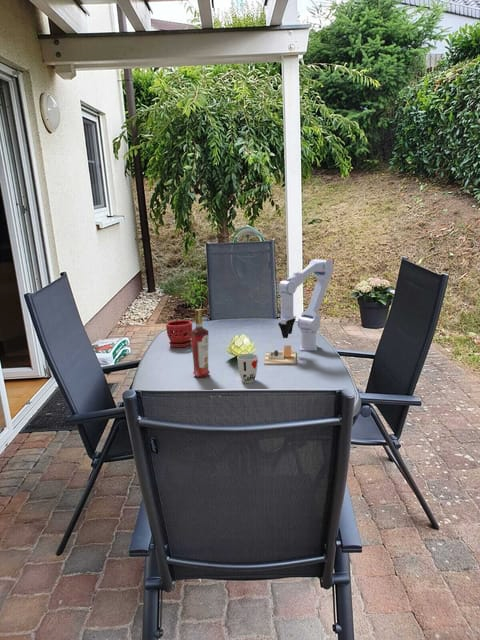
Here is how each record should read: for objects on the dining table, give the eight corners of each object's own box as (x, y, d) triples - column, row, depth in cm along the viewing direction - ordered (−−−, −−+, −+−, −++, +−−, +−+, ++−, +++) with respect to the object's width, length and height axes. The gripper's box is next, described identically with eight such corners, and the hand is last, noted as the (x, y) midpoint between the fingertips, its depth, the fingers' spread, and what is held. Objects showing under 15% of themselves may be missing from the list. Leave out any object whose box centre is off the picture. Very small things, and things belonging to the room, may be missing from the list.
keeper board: (266, 352, 227) (266, 344, 226) (296, 352, 225) (296, 344, 224) (263, 364, 209) (263, 356, 208) (295, 364, 208) (295, 356, 207)
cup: (241, 385, 186) (240, 360, 184) (235, 378, 193) (235, 354, 191) (260, 382, 188) (260, 358, 186) (254, 376, 195) (254, 352, 193)
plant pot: (195, 341, 249) (194, 319, 247) (190, 348, 237) (188, 325, 234) (170, 341, 251) (169, 319, 248) (164, 348, 238) (163, 325, 235)
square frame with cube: (291, 354, 220) (291, 344, 219) (290, 359, 213) (290, 348, 212) (269, 354, 221) (269, 343, 220) (268, 358, 215) (268, 348, 213)
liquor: (201, 371, 203) (198, 307, 197) (214, 374, 198) (211, 309, 192) (189, 376, 197) (185, 310, 191) (201, 379, 193) (198, 312, 186)
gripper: (292, 310, 208) (292, 340, 212) (299, 304, 222) (299, 332, 225) (276, 309, 211) (276, 339, 214) (284, 303, 224) (284, 331, 227)
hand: (287, 335), depth 220 cm, fingers open, 7 cm apart
